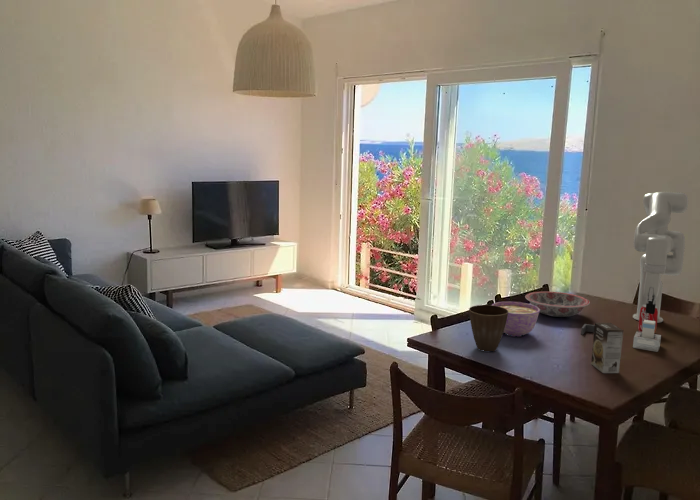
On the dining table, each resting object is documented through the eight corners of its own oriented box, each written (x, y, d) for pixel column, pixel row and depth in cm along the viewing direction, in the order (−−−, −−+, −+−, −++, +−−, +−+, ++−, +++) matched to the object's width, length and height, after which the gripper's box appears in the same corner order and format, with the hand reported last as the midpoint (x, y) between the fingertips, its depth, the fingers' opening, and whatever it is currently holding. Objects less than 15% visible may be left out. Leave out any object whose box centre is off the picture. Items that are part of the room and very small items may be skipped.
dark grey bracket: (584, 330, 259) (584, 323, 259) (601, 333, 255) (601, 326, 255) (581, 334, 253) (581, 327, 253) (598, 337, 250) (599, 330, 249)
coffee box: (590, 364, 218) (593, 322, 215) (606, 364, 219) (610, 322, 216) (602, 373, 209) (606, 329, 206) (619, 373, 210) (624, 329, 207)
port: (635, 341, 245) (636, 331, 244) (659, 345, 240) (661, 335, 239) (632, 347, 237) (633, 337, 236) (657, 352, 232) (658, 341, 232)
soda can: (657, 335, 253) (660, 308, 251) (640, 334, 255) (643, 307, 252) (653, 330, 260) (655, 304, 258) (635, 329, 261) (638, 303, 259)
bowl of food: (548, 336, 250) (550, 310, 248) (514, 344, 240) (516, 316, 238) (512, 324, 267) (514, 299, 265) (480, 330, 256) (481, 305, 254)
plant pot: (486, 358, 223) (488, 317, 220) (459, 346, 235) (461, 307, 233) (514, 351, 231) (516, 311, 228) (486, 340, 243) (488, 303, 240)
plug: (641, 343, 241) (644, 319, 240) (653, 345, 239) (655, 321, 238) (640, 345, 238) (643, 321, 236) (651, 347, 236) (654, 323, 234)
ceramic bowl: (515, 316, 280) (516, 300, 278) (535, 303, 303) (536, 288, 302) (579, 327, 263) (581, 310, 262) (594, 313, 287) (596, 297, 285)
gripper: (646, 264, 241) (641, 307, 244) (641, 270, 229) (637, 315, 232) (666, 266, 237) (662, 310, 241) (663, 272, 225) (658, 319, 228)
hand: (649, 313), depth 236 cm, fingers closed
